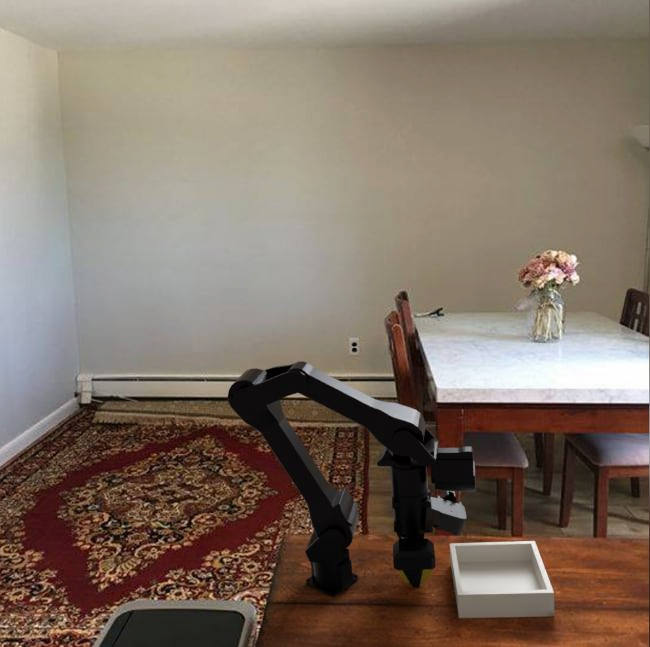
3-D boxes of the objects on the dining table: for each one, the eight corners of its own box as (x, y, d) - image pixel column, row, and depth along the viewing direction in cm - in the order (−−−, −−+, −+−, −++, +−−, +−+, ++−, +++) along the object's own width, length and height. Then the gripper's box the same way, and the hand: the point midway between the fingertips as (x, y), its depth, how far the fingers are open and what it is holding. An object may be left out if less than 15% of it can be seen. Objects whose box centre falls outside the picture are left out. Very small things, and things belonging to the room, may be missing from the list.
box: (458, 618, 105) (457, 594, 104) (450, 564, 118) (449, 543, 117) (554, 616, 103) (554, 592, 102) (535, 562, 117) (534, 540, 116)
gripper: (468, 517, 100) (472, 612, 103) (456, 461, 118) (460, 543, 121) (390, 520, 101) (397, 613, 105) (390, 463, 119) (395, 545, 123)
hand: (415, 576), depth 113 cm, fingers closed on lemon, 5 cm apart
